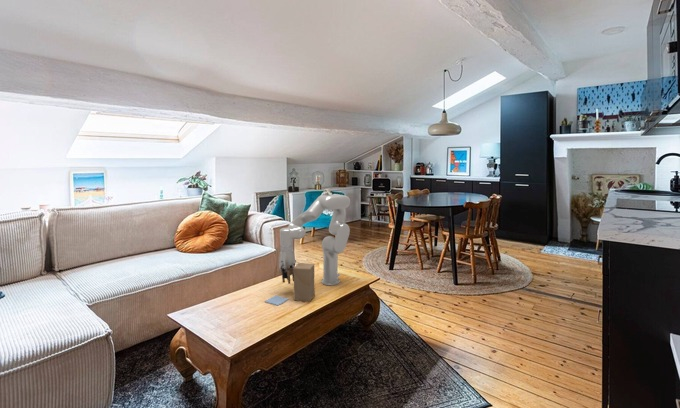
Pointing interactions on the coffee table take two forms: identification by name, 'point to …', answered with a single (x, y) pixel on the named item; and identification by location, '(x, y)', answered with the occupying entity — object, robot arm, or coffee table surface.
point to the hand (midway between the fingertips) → (288, 276)
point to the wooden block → (304, 282)
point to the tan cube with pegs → (288, 274)
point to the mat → (276, 300)
